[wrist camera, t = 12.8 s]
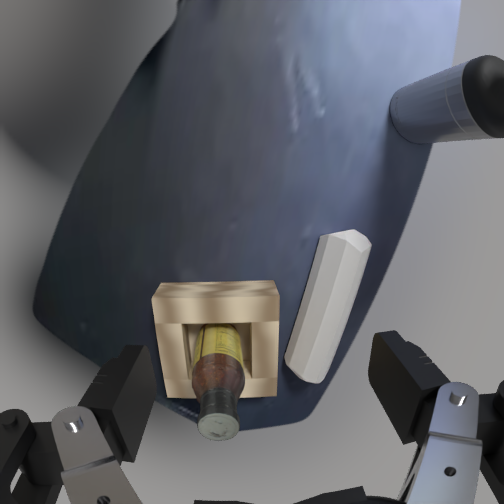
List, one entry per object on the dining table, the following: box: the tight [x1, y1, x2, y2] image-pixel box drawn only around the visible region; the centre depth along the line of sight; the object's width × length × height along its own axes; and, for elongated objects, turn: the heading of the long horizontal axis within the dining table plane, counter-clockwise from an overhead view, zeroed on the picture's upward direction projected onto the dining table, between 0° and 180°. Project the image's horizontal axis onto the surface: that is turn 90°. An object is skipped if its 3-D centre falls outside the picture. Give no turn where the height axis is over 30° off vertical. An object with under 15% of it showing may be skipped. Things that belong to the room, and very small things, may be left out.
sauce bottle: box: [192, 323, 245, 441], centre depth 36 cm, size 6×6×20 cm
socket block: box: [152, 280, 280, 398], centre depth 44 cm, size 16×16×6 cm
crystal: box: [284, 229, 372, 383], centre depth 45 cm, size 7×7×24 cm
